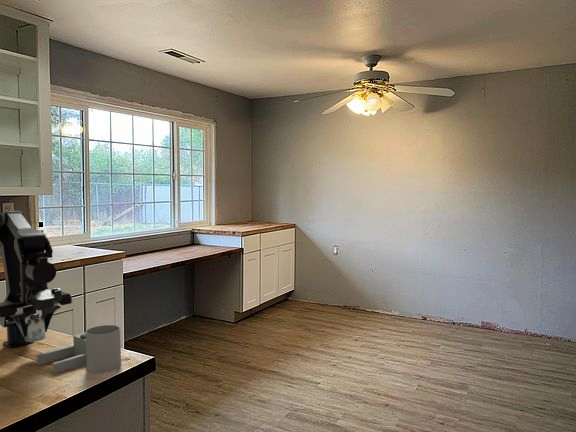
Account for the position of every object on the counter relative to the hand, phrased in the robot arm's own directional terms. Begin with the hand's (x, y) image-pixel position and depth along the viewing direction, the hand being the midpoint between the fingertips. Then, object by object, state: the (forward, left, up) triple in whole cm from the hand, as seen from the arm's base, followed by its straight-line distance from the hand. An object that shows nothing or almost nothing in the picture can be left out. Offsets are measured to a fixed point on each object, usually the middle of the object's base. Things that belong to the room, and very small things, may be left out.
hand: (35, 334), depth 126 cm
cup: (+21, +8, -7) cm, 24 cm away
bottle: (0, 0, -1) cm, 1 cm away
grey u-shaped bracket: (+10, +5, -7) cm, 13 cm away
